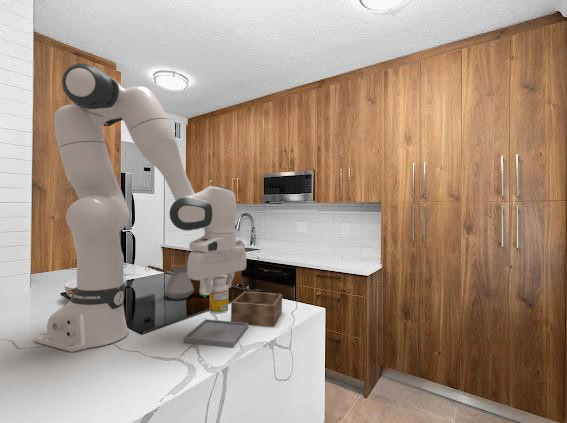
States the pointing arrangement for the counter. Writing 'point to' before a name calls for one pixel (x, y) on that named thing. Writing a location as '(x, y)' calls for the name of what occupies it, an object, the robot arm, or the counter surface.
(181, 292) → the coffee pot
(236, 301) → the walnut box
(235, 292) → the counter surface
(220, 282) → the supplement bottle
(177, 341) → the counter surface
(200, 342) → the grey tray
